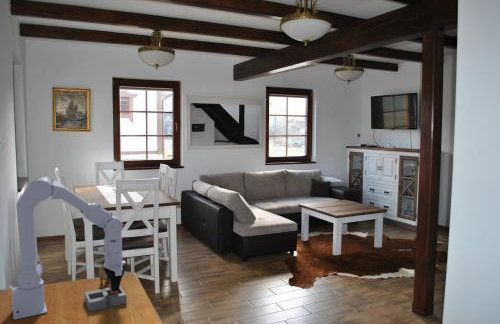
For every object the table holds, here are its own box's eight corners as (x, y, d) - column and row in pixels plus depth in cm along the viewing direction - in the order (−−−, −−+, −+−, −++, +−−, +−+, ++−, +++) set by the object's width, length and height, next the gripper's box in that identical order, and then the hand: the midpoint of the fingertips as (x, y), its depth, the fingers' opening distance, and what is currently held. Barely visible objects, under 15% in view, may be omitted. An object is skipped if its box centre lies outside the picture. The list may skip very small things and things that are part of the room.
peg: (111, 299, 142) (110, 277, 141) (108, 296, 144) (108, 274, 143) (119, 297, 143) (119, 275, 143) (117, 294, 146) (117, 272, 145)
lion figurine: (111, 289, 153) (111, 266, 151) (96, 290, 152) (96, 266, 151) (118, 274, 167) (117, 252, 166) (104, 274, 166) (103, 253, 165)
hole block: (89, 311, 136) (89, 302, 135) (84, 300, 143) (84, 292, 143) (126, 303, 142) (126, 294, 141) (119, 293, 149) (119, 285, 149)
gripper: (130, 255, 138) (131, 294, 140) (119, 243, 150) (120, 279, 152) (109, 258, 134) (110, 298, 136) (99, 246, 147) (100, 283, 148)
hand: (114, 288), depth 144 cm, fingers closed on peg, 3 cm apart
